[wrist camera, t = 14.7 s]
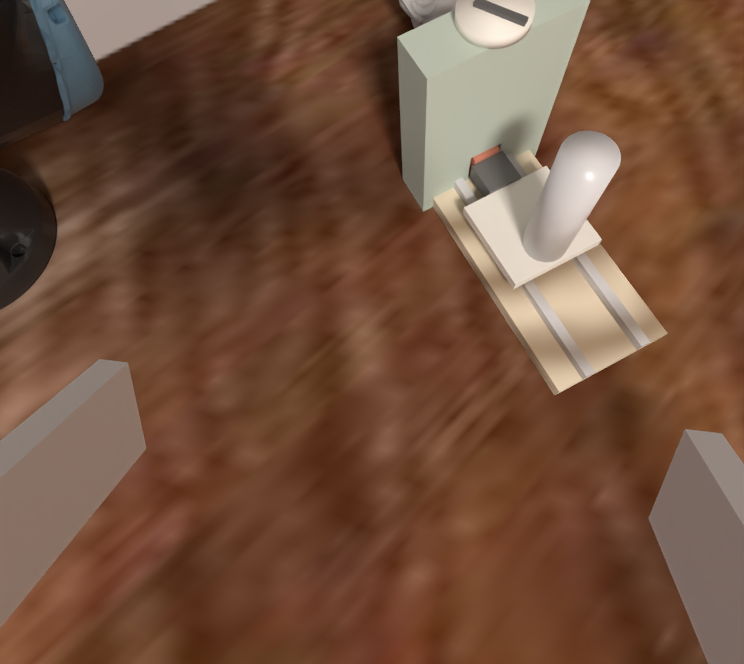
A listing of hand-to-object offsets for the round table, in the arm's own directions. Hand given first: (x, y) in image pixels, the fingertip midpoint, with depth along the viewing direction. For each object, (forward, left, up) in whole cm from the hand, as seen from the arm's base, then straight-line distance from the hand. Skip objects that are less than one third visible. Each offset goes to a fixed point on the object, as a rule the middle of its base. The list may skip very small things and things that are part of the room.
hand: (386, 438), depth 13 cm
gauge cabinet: (-22, +19, -30) cm, 41 cm away
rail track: (-10, +19, -30) cm, 36 cm away
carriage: (-14, +19, -27) cm, 36 cm away
